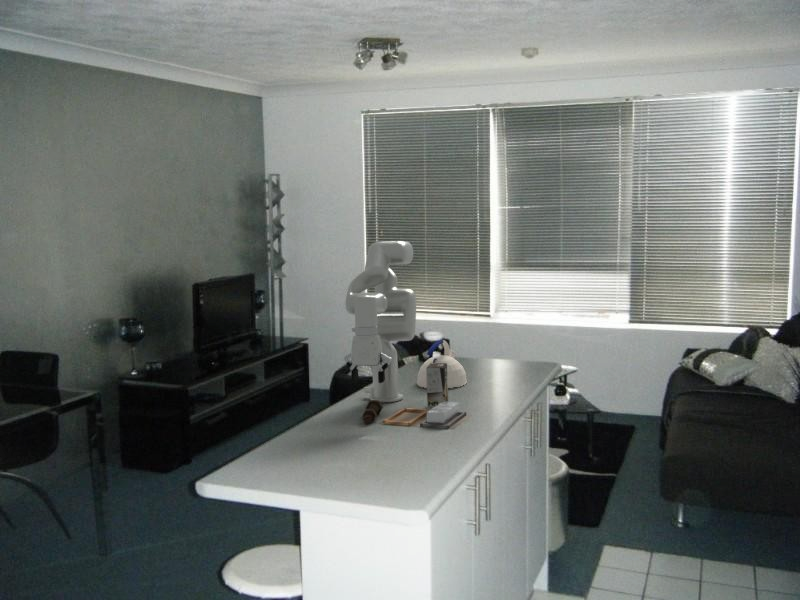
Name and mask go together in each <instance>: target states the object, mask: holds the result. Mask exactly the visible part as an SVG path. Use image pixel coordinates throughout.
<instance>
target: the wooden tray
mask: <svg viewBox="0 0 800 600" xmlns="http://www.w3.org/2000/svg"><path fill="white" fill-rule="evenodd" d="M428 411H429V410H428V409H425V408H424V409H422V408H413V407H411V408H410V407H409V408H408V407H404V408H401V410H398V411H397V412H394V413H393V414H391V415H390V416H388V417H387V418H385V419H383V420H382V421H380V422H379V423H378V424H379V425H387V426H389V425H390V426H403V427H417V428H418V427H419V428H428V429H442V430H454V429H455V428H457V427H458V426H460V425H461V424H463V422H465V421H466V420H468V419H469V418H470V417H471V416H472V415H471V414H467V411H460V415H459V416H458V417H457V418H455V419H454V420H453V421H451V422H450V423H449V424H447V425H442V424H428V423H427V412H428Z"/></svg>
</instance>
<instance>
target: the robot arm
mask: <svg viewBox="0 0 800 600" xmlns="http://www.w3.org/2000/svg"><path fill="white" fill-rule="evenodd" d="M413 259H414V248H413V245H412V244H411V243H410V242H409V241H404V240H385V241H383V240H382V241H376V242H373V243H372V244H370V245H369V247H368V248H367V257H366V261H365V266H364V270H362V272H361V273H359V274H358V275H357V276H356V277H355V278H353V279H352V281H350V283H349V285H348V287H347V291H346V297H345V305H344V306H345V310H346V311H347V313H348V314H349V315H354V327H352V328H351V331H352V332H353V333H354V334H355V335H352V341H351V349H350V350H351V352H350V353H348V354H347V355H344V357H343V359H344V361H345V364H346V366H348V368H349V370H350V372H351V379H352V382H353V383H355V382H356V383H357V382H358V381H359V370H358V367H359V366H361V367H372V370H371V371H372V387H370V386H369V387H368V386H364V388H363V390H364V393H365V394H370V396H369V401H370V400H378V401H379V402H380V403H394V402H399V401H401V400H403V398H404V395H403V394H401V393H400V392H399V391H400V390H399V364H398V351H397V349H396V348H395V346H394V345H393V343H392V342H408V341H412V340H413V339H414V337H415V335H416V325H417V322H416V321H417V296H416V293H415V291H413V290H412V289H411V288H398V283H399V282H398V276H397V275H396V273H395V271H393V269H392V268H390V266H391V265H392V266H394V265H409V264H411V262H413ZM371 288H374V292H363V291H366V290H368V289H371Z"/></svg>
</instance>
